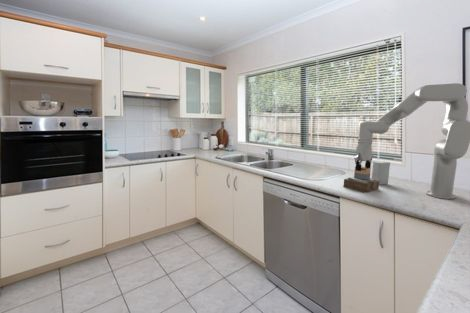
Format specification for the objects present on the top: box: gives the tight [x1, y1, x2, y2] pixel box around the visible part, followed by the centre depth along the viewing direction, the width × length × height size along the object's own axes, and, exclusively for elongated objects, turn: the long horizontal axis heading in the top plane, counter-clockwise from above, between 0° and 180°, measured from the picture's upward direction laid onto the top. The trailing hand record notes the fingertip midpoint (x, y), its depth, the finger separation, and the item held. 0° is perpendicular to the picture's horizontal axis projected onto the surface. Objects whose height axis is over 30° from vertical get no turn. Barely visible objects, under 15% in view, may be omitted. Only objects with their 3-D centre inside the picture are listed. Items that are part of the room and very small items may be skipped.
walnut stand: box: [343, 176, 380, 193], centre depth 152 cm, size 14×14×6 cm
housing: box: [353, 165, 372, 180], centre depth 151 cm, size 5×7×7 cm
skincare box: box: [371, 160, 391, 186], centre depth 162 cm, size 8×6×15 cm
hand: (363, 169), depth 150 cm, fingers open, 9 cm apart
